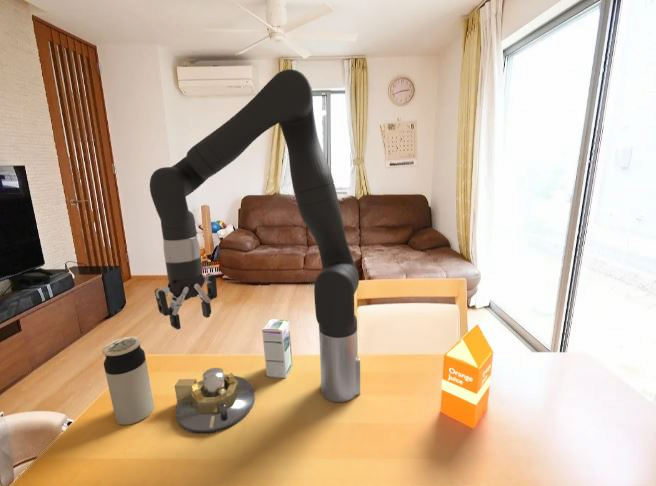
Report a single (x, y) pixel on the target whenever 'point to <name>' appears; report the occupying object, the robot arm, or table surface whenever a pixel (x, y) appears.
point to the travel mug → (128, 380)
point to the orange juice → (467, 378)
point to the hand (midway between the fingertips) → (192, 322)
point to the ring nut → (195, 393)
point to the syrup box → (277, 348)
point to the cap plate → (226, 416)
